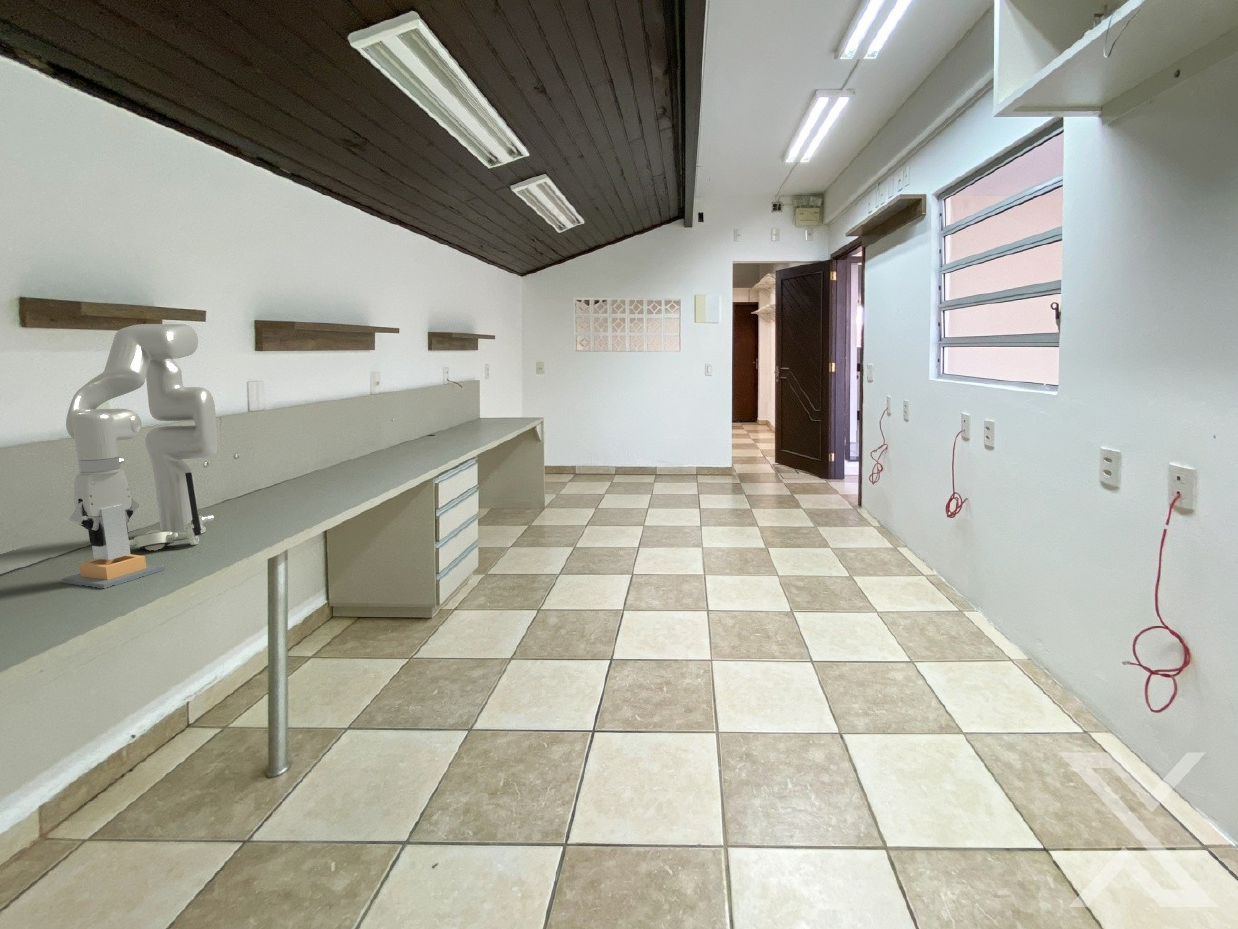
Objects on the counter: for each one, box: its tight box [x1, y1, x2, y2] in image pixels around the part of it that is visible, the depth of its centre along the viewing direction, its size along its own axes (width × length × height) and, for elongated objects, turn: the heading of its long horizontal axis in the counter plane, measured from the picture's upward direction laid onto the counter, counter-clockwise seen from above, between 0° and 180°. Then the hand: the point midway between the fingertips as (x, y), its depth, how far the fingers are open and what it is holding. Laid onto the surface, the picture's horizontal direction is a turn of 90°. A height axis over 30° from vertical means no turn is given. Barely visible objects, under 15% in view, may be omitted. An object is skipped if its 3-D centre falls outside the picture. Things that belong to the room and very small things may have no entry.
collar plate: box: [61, 553, 165, 590], centre depth 160 cm, size 14×14×4 cm
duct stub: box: [91, 505, 131, 560], centre depth 158 cm, size 5×5×12 cm
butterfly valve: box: [129, 472, 203, 551], centre depth 184 cm, size 9×20×17 cm
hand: (110, 541), depth 159 cm, fingers closed on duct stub, 5 cm apart
